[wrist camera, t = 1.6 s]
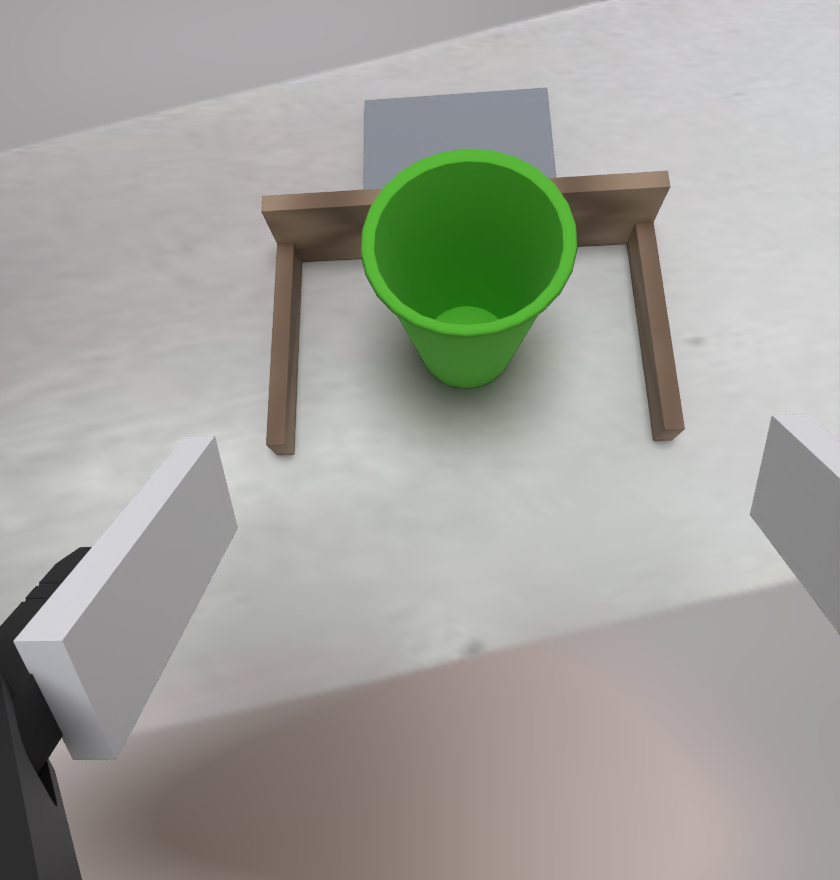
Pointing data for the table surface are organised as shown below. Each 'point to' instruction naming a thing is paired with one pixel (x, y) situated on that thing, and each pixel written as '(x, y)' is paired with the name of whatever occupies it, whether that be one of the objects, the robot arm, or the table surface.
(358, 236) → the stall
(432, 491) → the table surface
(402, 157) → the mat
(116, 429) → the table surface
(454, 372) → the cup
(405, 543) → the table surface
